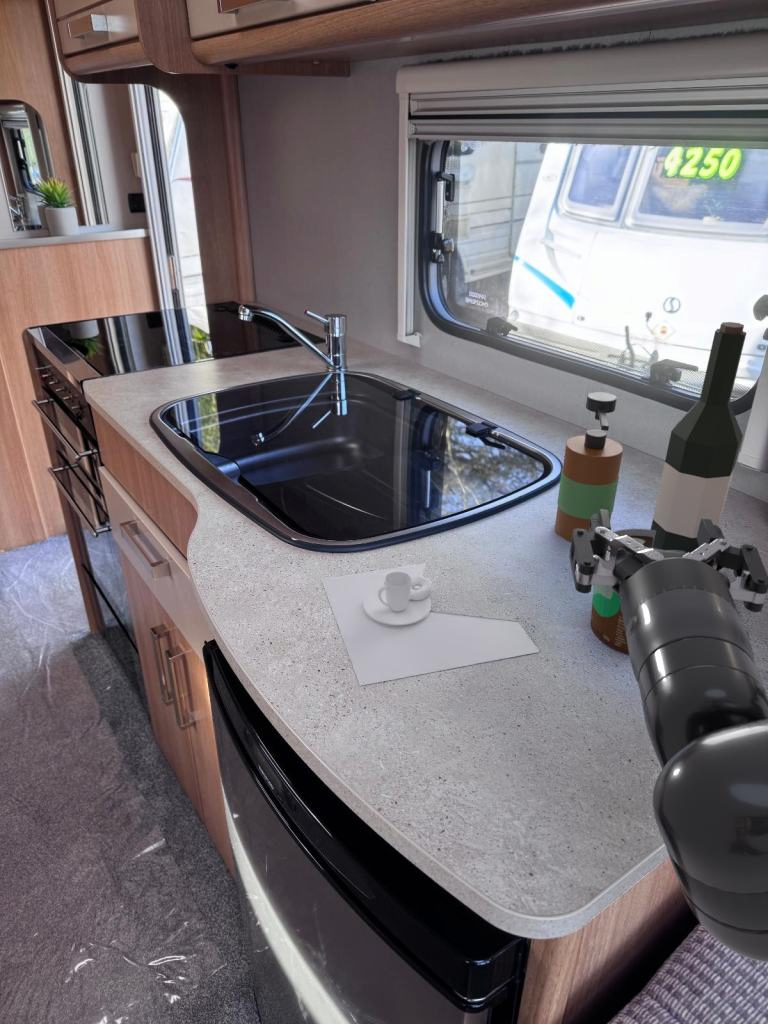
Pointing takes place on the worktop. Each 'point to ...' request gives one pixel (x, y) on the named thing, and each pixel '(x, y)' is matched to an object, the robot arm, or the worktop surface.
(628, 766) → the worktop surface
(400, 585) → the teacup and saucer
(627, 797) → the worktop surface
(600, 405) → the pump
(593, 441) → the pump bottle
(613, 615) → the food container
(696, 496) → the wine bottle
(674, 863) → the robot arm
